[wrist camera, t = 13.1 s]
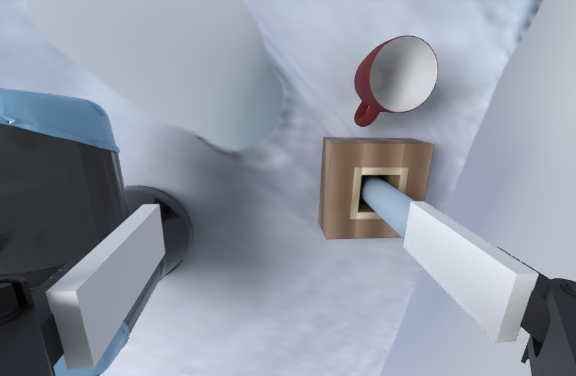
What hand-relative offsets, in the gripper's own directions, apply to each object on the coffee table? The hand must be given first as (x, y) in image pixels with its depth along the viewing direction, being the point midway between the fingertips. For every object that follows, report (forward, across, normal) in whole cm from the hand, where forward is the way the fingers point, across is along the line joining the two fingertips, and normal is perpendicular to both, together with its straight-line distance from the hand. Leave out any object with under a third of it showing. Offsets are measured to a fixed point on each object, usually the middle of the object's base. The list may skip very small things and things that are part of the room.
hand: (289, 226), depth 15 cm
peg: (+29, +15, -6) cm, 33 cm away
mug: (+29, +14, +8) cm, 33 cm away
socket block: (+29, +15, -6) cm, 33 cm away
